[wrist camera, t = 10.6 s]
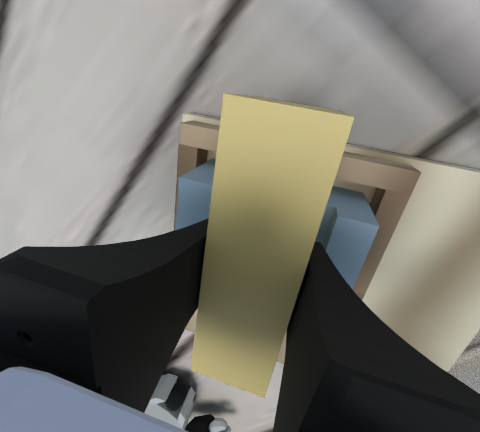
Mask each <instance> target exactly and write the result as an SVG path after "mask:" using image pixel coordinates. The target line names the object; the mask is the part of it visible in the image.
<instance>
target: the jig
mask: <svg viewBox="0 0 480 432" xmlns="http://www.w3.org/2000/svg"><path fill="white" fill-rule="evenodd" d="M220 120H221V118H216V117H211V116H206V115H201V114H195V113H183V119H182V122H181V123H180V130H179V148H178V166H177V184H176V202H175V220H174V231H175V230H176V217H177V201H178V184H179V177H180V176H182V175H184V174H186V173H187V172H189V171H191V170H193V169H195V168H196V167H198V166H200V165H202V164H204V163H205V162H207V161H209V160H211V159H216V153H217V145H218V136H219V128H220ZM333 186H336V187H341V188H345V189H350V190H354V191H358V192H363V193H364V195H365V197H366V199H367V201H368V203H369V205H370V207H371V209H372V212H373V214H374V216H375V218H376V220H377V222H378V224H379V226H380V227H379V229H378V231H377V233H376V236H375V238H374V240H373V243H372V245H371V247H370V250H369V252H368V254H367V257H366V259H365V261H364V264H363V266H362V268H361V270H360V273H359V275H358V277H357V280H356V282H355V284H354V287H353V289H352V290H353V291H354V292H355V293H356V294H357V295H358V297H359V298H360V299H361V300H362V301H363V302H364V303H365V304H366V305H367V306H368V307H369V308H370V309H371V311H372V312H373V313H375V314H376V315H377V316H378V317H379V318H380V319H381V320H382V321H383V322H384V323H385V324H386V325H387V326H389V327H390V328H391V329H392V330H393V331H394V332H395V333H396V334H398V335H399V336H400V337H401V338H402V339H404V340H405V341H406V342H407V343H408V344H410V345H411V346H412V347H414V348H415V349H416V350H417V351H419V352H420V353H421V354H423V355H424V356H425V357H427V358H428V359H429V360H431V361H432V362H433V363H435V364H436V365H437V366H439V367H440V368H442V369H443V370H445V371H446V372H448V371H449V369H450V368H451V367H452V366H453V364H454V363H455V362H456V360H457V359H458V358H459V356H460V355H461V354H462V352H463V351H464V350H465V348H466V347H467V346H468V344H469V343H470V342H471V341H472V339H473V338H474V337H475V335H476V334H477V333H478V331H479V330H480V170H479V169H474V168H469V167H463V166H458V165H453V164H448V163H443V162H438V161H433V160H428V159H423V158H418V157H413V156H408V155H403V154H398V153H393V152H388V151H383V150H377V149H372V148H367V147H362V146H357V145H352V144H347V143H346V146H345V149H344V152H343V155H342V159H341V162H340V165H339V168H338V171H337V174H336V177H335V180H334V183H333ZM197 312H198V308H197V310H196V311H195V313H194V315H193V316H192V318H191V319H190V321H189V323H188V324H187V326H186V328H185V329H186V330H189V331H192V332H195V329H196V320H197ZM286 333H287V330H286ZM286 333H285V336H284V339H283V342H282V345H281V348H280V351H279V355H278V358H277V361H278V362H280V363H283V364H284V360H285V350H286Z"/></svg>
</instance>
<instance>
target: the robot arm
mask: <svg viewBox="0 0 480 432" xmlns="http://www.w3.org/2000/svg"><path fill="white" fill-rule="evenodd" d="M208 220H209V218H208V219H205V220H203V221H200V222H197V223H195V224H192V225H190V226H187V227H184V228H181V229H178V230H175V231H172V232H169V233H166V234H162V235H158V236H154V237H150V238H146V239H141V240H136V241H129V242H122V243H115V244H107V245H96V246H79V247H27V246H25V247H23V248H20V249H19V250H17V251H15V252H13V253H11V254H9V255H7V256H5V257H3V258H1V259H0V432H188V431H186V430H183V429H181V428H178V427H176V426H174V425H171V424H169V423H167V422H164V421H162V420H159V419H157V418H155V417H152V416H150V415H148V414H145V413H144V412H145V410H146V408H147V406H148V404H149V402H150V399H151V397H152V395H153V393H154V391H155V389H156V386H157V384H158V382H159V380H160V378H161V376H162V374H163V372H164V370H165V368H166V365H167V363H168V361H169V359H170V357H171V355H172V353H173V351H174V349H175V347H176V345H177V343H178V341H179V339H180V337H181V335H182V333H183V331H184V329H185V328H186V326H187V324H188V323H189V321H190V319H191V318H192V316H193V315H194V313H195V311H196V310H197V308H198V304H199V295H200V287H201V278H202V270H203V262H204V253H205V245H206V237H207V228H208ZM273 432H480V394H479V393H477V392H476V391H474V390H473V389H471V388H470V387H468V386H467V385H465V384H464V383H462V382H461V381H459V380H458V379H456V378H455V377H454V376H452V375H451V374H449V373H448V372H446V371H445V370H443V369H442V368H440V367H439V366H437V365H436V364H435V363H433V362H432V361H431V360H429V359H428V358H427V357H425V356H424V355H423V354H421V353H420V352H419V351H417V350H416V349H415V348H414V347H412V346H411V345H410V344H408V343H407V342H406V341H405V340H404V339H402V338H401V337H400V336H399V335H398V334H396V333H395V332H394V331H393V330H392V329H391V328H390V327H389V326H387V325H386V324H385V323H384V322H383V321H382V320H381V319H380V318H379V317H378V316H377V315H376V314H375V313H373V312H372V311H371V309H370V308H369V307H368V306H367V305H366V304H365V303H364V302H363V301H362V300H361V299H360V298H359V297H358V295H357V294H356V293H355V292H354V291H353V290H352V288H351V287H350V286H349V284H348V283H347V282H346V281H345V279H344V278H343V277H342V275H341V274H340V272H339V271H338V270H337V268H336V267H335V265H334V264H333V262H332V260H331V259H330V257H329V255H328V254H327V252H326V250H325V249H324V247H323V245H322V244H321V243H320V242H316V241H315V243H314V246H313V249H312V252H311V255H310V258H309V261H308V264H307V267H306V271H305V274H304V277H303V280H302V283H301V286H300V289H299V292H298V295H297V299H296V302H295V305H294V308H293V311H292V314H291V317H290V320H289V323H288V327H287V333H286V350H285V360H284V368H283V374H282V381H281V387H280V393H279V399H278V405H277V411H276V416H275V422H274V428H273Z"/></svg>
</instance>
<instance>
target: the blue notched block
mask: <svg viewBox="0 0 480 432" xmlns="http://www.w3.org/2000/svg"><path fill="white" fill-rule="evenodd" d="M215 161H216V159H211V160H209V161H207V162H205V163H204V164H202V165H200V166H198V167H196V168H195V169H193V170H191V171H189V172H187V173H186V174H184V175H182V176H180V177H179V184H178V201H177V217H176V230H178V229H181V228H184V227H187V226H190V225H192V224H195V223H197V222H200V221H203V220H205V219H208V218H209V212H210V203H211V195H212V186H213V178H214V170H215ZM379 227H380V226H379V224H378V222H377V220H376V218H375V216H374V214H373V212H372V209H371V207H370V205H369V203H368V201H367V199H366V197H365V195H364V193H363V192H358V191H354V190H350V189H345V188H341V187H336V186H333V187H332V190H331V193H330V196H329V199H328V202H327V205H326V208H325V211H324V215H323V218H322V221H321V224H320V227H319V230H318V233H317V236H316V239H315V241H316V242H320V243H321V244H322V245H323V247H324V249H325V250H326V252H327V254H328V255H329V257H330V259H331V260H332V262H333V264H334V265H335V267H336V268H337V270H338V271H339V272H340V274H341V275H342V277H343V278H344V279H345V281H346V282H347V283H348V284H349V286H350V287H351V288H352V289H353V287H354V284H355V282H356V280H357V277H358V275H359V273H360V270H361V268H362V266H363V264H364V261H365V259H366V257H367V254H368V252H369V250H370V247H371V245H372V243H373V240H374V238H375V236H376V233H377V231H378V229H379Z"/></svg>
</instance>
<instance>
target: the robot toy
mask: <svg viewBox="0 0 480 432" xmlns="http://www.w3.org/2000/svg"><path fill="white" fill-rule="evenodd" d="M177 378H178V376H175V375H172V374H166V375H163V374H162V376H161V378H160V380H159V382H158V384H157V386H156V389H155V391H154V393H153V395H152V397H151V399H150V402H149V404H148V406H147V408H146V410H145V412H144V413H145V414H148V415H150V416H152V417H155V418H157V419H159V420H162V421H164V422H167V423H169V424H171V425H174V426H176V427H178V428H181V429H183V430H186V431H188V432H231V428H230V426H228V425H227V424H228V423H227V422H226V421H225V420H224V419H223V418H216V419H215V418H214V416H212V415H210V414H209V415H203V416H197V417H194V418H193V419H192V420H191V421H190V422H189V424H188V425H187V423H188V420H189V417H190V415H191V412H192V410H193V407H194V403H193V399H194V396H195V392H194V390H193V389H192V387H191V388H190V390H189V392H188V386H187V385H186V384H185V383H184V382H182V381H177V382H176V380H177ZM186 425H187V426H186Z"/></svg>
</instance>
